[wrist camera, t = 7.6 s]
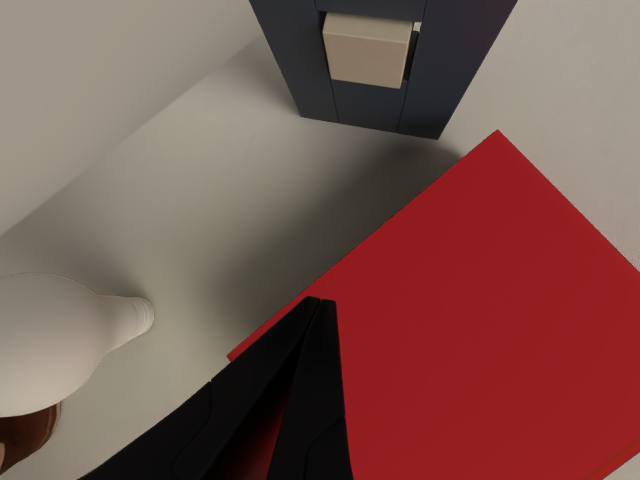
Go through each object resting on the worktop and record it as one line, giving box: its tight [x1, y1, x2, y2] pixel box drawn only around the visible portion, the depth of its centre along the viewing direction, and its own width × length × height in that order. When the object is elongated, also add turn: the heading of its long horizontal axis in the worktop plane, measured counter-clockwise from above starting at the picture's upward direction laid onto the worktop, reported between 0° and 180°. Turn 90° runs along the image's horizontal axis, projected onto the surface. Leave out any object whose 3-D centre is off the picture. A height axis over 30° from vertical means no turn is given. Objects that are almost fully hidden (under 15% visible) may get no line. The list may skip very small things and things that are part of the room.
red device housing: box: [227, 130, 640, 480], centre depth 18 cm, size 18×14×5 cm
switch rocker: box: [322, 12, 414, 89], centre depth 14 cm, size 3×3×3 cm
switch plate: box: [249, 0, 518, 140], centre depth 16 cm, size 2×9×12 cm, turn 77°
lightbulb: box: [0, 273, 154, 417], centre depth 17 cm, size 6×6×11 cm
